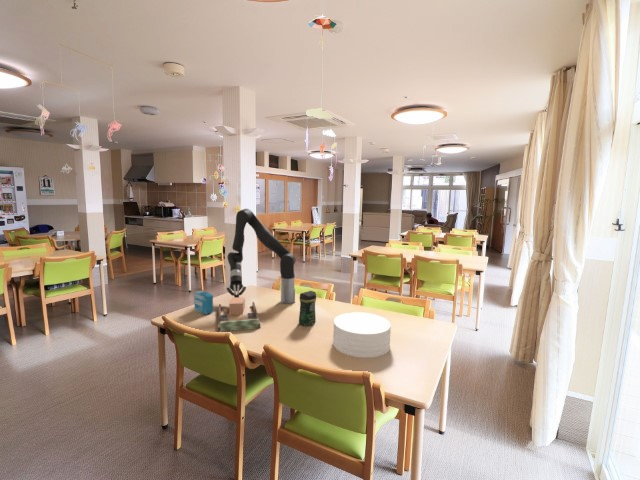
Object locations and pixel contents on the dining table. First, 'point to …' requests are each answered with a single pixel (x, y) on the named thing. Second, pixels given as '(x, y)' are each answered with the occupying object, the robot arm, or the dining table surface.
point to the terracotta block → (237, 305)
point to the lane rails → (239, 322)
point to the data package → (203, 302)
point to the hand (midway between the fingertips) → (236, 300)
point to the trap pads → (250, 315)
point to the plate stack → (361, 334)
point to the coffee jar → (307, 308)
